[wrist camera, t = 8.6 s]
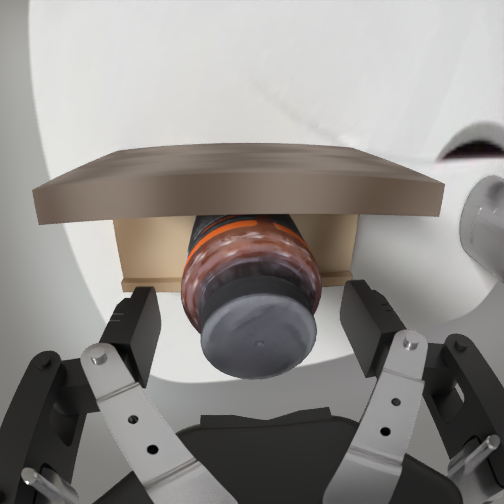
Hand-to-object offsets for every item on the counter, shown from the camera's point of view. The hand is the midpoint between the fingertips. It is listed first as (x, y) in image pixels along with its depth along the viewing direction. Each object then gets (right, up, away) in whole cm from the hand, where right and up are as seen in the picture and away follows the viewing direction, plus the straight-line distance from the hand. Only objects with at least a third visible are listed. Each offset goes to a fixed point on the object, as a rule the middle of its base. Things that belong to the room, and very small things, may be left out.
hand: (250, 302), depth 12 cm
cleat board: (-1, +6, +9) cm, 11 cm away
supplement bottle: (-1, +4, +8) cm, 9 cm away
